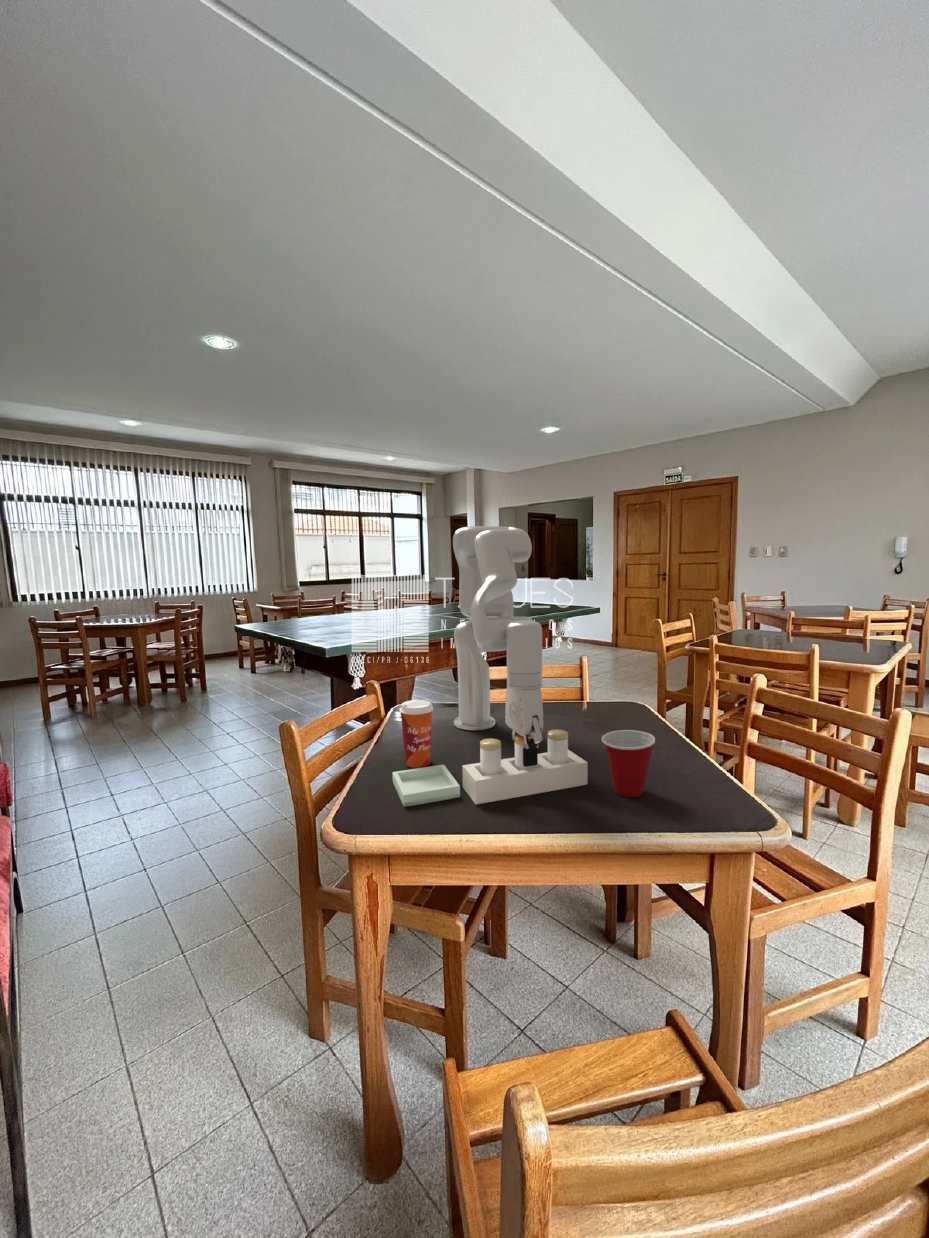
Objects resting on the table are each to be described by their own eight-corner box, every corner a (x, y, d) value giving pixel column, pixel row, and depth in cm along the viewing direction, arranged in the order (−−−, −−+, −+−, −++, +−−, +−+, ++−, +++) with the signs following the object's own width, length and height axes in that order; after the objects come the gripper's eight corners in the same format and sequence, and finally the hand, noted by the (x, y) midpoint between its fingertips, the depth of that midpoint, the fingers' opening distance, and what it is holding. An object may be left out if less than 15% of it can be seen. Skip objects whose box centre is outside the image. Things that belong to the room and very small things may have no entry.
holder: (462, 787, 110) (462, 765, 109) (567, 769, 118) (567, 749, 117) (475, 804, 102) (475, 780, 101) (587, 784, 110) (587, 762, 110)
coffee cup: (410, 772, 118) (408, 710, 116) (395, 761, 125) (393, 702, 123) (441, 764, 122) (439, 704, 121) (425, 754, 129) (423, 697, 128)
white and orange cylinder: (511, 783, 111) (511, 735, 110) (529, 780, 113) (529, 732, 111) (520, 791, 107) (519, 742, 106) (538, 788, 109) (538, 739, 107)
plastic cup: (597, 779, 113) (598, 727, 111) (647, 781, 111) (648, 728, 110) (604, 802, 102) (605, 745, 101) (660, 804, 100) (661, 746, 99)
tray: (392, 782, 113) (392, 772, 112) (444, 774, 117) (443, 764, 116) (403, 806, 101) (403, 795, 101) (460, 797, 105) (459, 785, 105)
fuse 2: (544, 777, 114) (544, 730, 113) (561, 774, 115) (561, 728, 114) (553, 785, 110) (553, 737, 108) (571, 782, 111) (571, 734, 110)
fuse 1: (478, 789, 109) (477, 740, 108) (496, 785, 110) (496, 737, 109) (485, 797, 105) (484, 747, 103) (504, 794, 106) (504, 744, 105)
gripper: (493, 672, 114) (494, 750, 116) (525, 689, 98) (526, 779, 100) (523, 669, 116) (524, 745, 118) (559, 685, 101) (559, 773, 103)
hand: (525, 760), depth 109 cm, fingers closed on white and orange cylinder, 4 cm apart
